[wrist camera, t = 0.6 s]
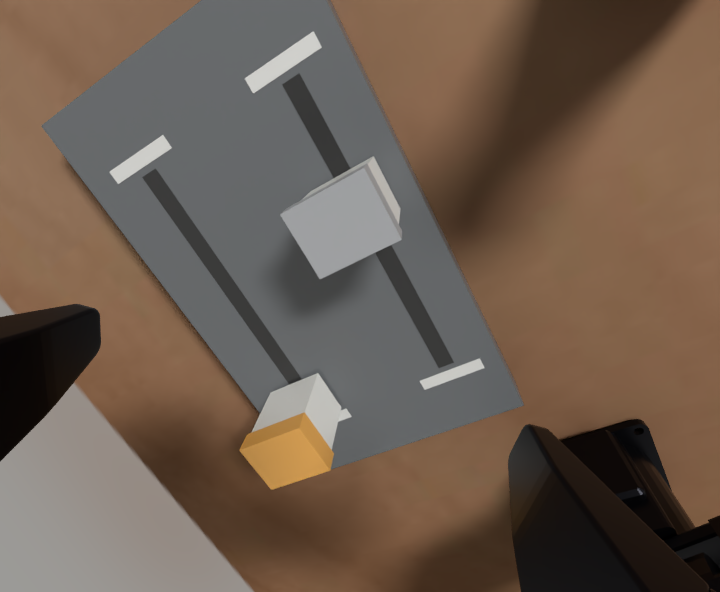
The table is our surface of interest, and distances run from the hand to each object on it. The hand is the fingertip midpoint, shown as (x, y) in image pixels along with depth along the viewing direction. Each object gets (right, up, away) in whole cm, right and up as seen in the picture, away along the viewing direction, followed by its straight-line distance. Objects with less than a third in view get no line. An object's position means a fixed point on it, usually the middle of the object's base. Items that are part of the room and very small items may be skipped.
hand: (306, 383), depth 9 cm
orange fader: (-2, -4, +14) cm, 14 cm away
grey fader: (+1, +6, +9) cm, 11 cm away
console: (-1, +4, +13) cm, 13 cm away
